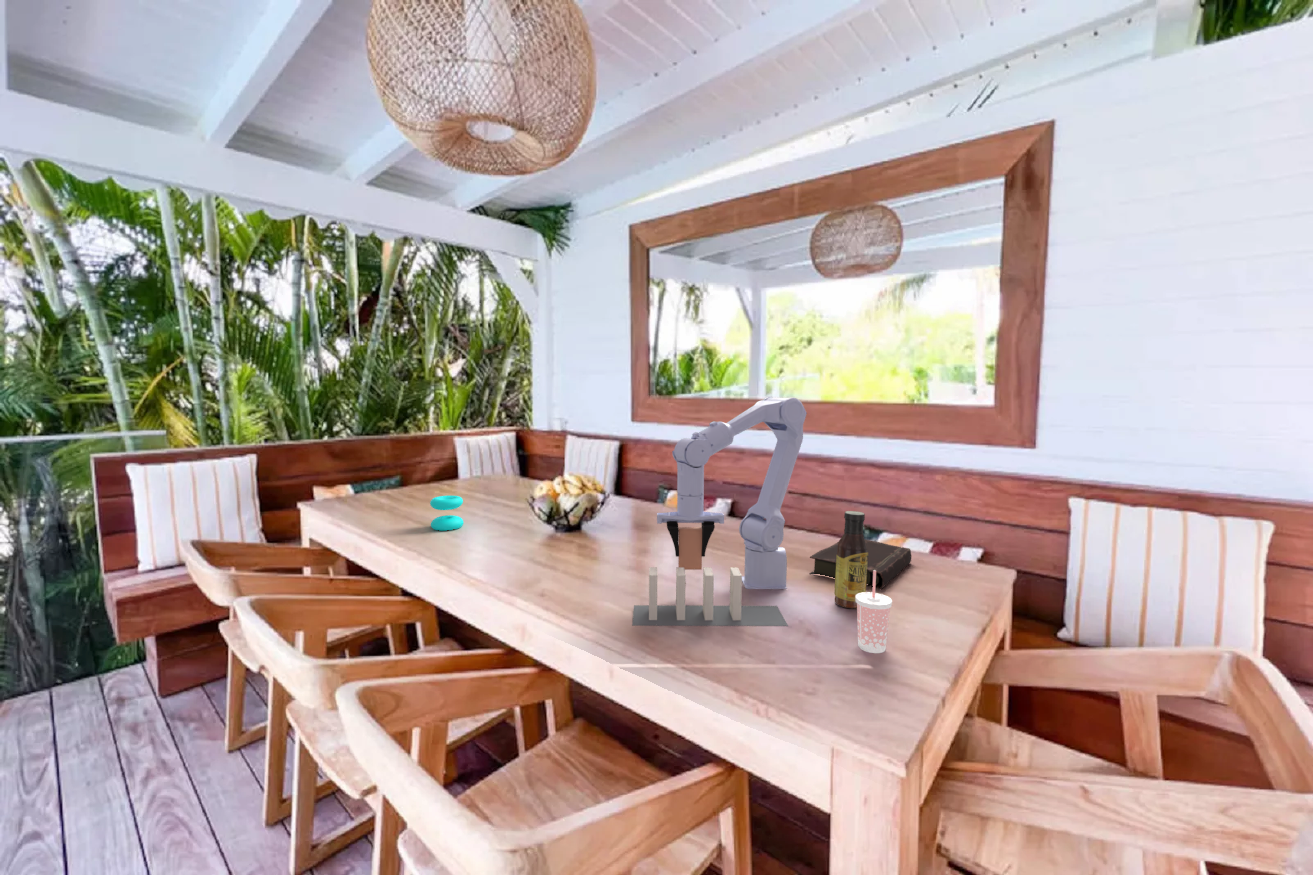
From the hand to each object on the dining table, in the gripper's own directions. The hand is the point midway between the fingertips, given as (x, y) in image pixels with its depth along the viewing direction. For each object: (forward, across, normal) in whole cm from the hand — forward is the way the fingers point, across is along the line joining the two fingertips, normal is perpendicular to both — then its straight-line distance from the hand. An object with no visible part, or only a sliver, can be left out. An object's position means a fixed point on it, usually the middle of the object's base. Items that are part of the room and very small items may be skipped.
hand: (690, 555), depth 124 cm
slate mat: (+9, -3, +11) cm, 15 cm away
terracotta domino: (+3, 0, 0) cm, 3 cm away
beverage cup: (+10, -31, +24) cm, 40 cm away
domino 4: (+9, -8, +11) cm, 17 cm away
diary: (+10, -45, -20) cm, 50 cm away
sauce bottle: (+10, -34, +4) cm, 35 cm away
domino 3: (+9, -3, +11) cm, 14 cm away
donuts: (+9, +75, -60) cm, 97 cm away
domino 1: (+9, +8, +11) cm, 16 cm away
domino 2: (+9, +3, +11) cm, 14 cm away
